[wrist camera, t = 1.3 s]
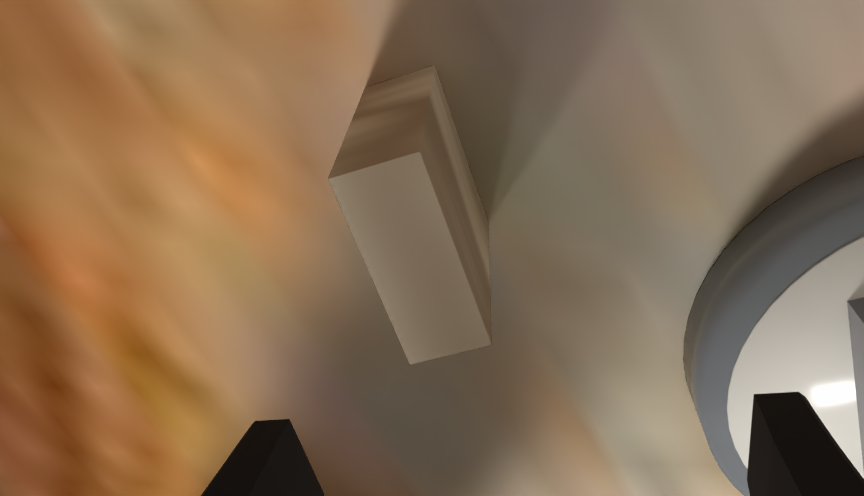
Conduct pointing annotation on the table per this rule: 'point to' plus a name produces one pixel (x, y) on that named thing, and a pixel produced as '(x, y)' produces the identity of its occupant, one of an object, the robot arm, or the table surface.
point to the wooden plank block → (417, 216)
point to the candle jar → (784, 319)
